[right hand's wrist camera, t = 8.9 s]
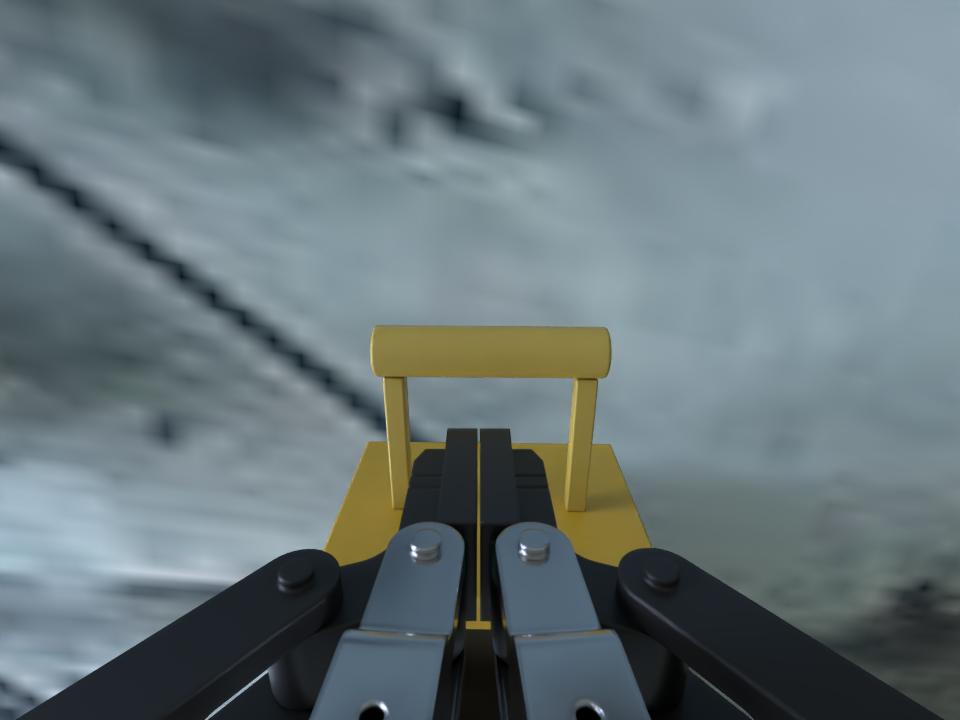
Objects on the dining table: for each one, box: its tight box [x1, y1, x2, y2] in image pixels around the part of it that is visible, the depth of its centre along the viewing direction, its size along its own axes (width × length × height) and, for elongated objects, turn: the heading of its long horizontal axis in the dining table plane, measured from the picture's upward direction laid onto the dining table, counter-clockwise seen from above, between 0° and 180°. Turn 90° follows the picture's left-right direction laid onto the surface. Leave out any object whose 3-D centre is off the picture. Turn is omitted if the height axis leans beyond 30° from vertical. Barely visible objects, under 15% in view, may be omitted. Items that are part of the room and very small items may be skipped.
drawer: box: [323, 325, 652, 720], centre depth 19 cm, size 25×9×7 cm, turn 0°
